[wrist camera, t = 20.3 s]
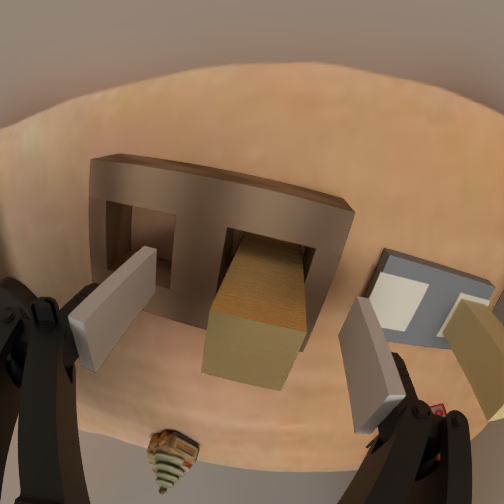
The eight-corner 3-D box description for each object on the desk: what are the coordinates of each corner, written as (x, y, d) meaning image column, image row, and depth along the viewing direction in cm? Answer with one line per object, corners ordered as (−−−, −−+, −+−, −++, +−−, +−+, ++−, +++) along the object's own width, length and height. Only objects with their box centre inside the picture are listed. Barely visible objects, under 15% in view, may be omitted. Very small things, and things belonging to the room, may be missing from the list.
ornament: (180, 452, 35) (163, 501, 26) (148, 435, 34) (127, 484, 25) (206, 444, 32) (190, 501, 23) (170, 425, 31) (147, 483, 22)
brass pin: (240, 269, 20) (201, 372, 11) (249, 224, 19) (209, 309, 10) (287, 280, 20) (280, 390, 11) (300, 236, 19) (306, 332, 9)
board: (348, 325, 21) (371, 449, 11) (382, 247, 18) (454, 358, 8) (455, 342, 20) (499, 429, 10) (489, 281, 18) (558, 359, 7)
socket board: (116, 272, 22) (93, 292, 19) (119, 153, 18) (90, 159, 15) (302, 322, 21) (302, 352, 18) (343, 198, 17) (355, 212, 14)
